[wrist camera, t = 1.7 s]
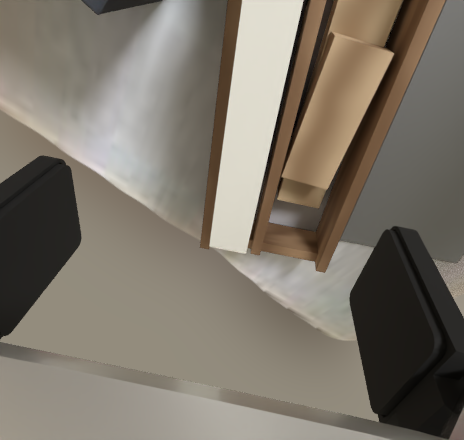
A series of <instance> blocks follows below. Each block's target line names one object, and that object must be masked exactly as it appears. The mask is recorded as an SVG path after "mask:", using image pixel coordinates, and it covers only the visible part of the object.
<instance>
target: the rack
mask: <svg viewBox="0 0 464 440" xmlns="http://www.w3.org/2000/svg"><path fill="white" fill-rule="evenodd" d="M444 3H445V0H404V1H403V3H402V6H401V9H400V11H399V14H398V17H397V19H396V22H395V24H394V27H393V30H392V32H391V35H390V38H389V40H388V43H387V46H386V48H387V49H389V50H390V51H392V52H393V53H394V55H393V57H392V59H391V61H390V63H389V65H388V67H387V70H386V72H385V74H384V76H383V78H382V80H381V82H380V84H379V86H378V88H377V90H376V92H375V94H374V96H373V98H372V100H371V102H370V104H369V106H368V108H367V110H366V112H365V114H364V116H363V118H362V120H361V122H360V124H359V126H358V128H357V130H356V132H355V134H354V136H353V139H352V141H351V143H350V145H349V147H348V149H347V151H346V154H345V156H344V159H343V162H342V164H341V167H340V170H339V172H338V175H337V178H336V180H335V183H334V185H333V188H332V191H331V193H330V196H329V199H328V201H327V204H326V207H325V209H324V212H323V214H322V217H321V220H320V222H319V225H318V228H317V230H316V232H314V231H308V230H303V229H298V228H293V227H288V226H283V225H278V224H273V223H268V222H269V218H270V214H271V210H272V206H273V203H274V199H275V195H276V191H277V187H278V183H279V180H280V176H281V172H282V168H283V164H284V161H285V157H286V153H287V149H288V145H289V141H290V138H291V134H292V130H293V126H294V122H295V119H296V115H297V111H298V107H299V103H300V99H301V96H302V92H303V88H304V84H305V80H306V77H307V73H308V69H309V65H310V61H311V57H312V54H313V50H314V46H315V42H316V38H317V35H318V31H319V27H320V23H321V19H322V15H323V12H324V8H325V4H326V0H307V1H306V5H305V10H304V14H303V18H302V23H301V27H300V31H299V36H298V40H297V44H296V48H295V53H294V57H293V61H292V66H291V70H290V74H289V79H288V83H287V87H286V92H285V96H284V100H283V105H282V109H281V113H280V117H279V122H278V126H277V130H276V135H275V139H274V143H273V148H272V152H271V156H270V161H269V165H268V169H267V174H266V178H265V182H264V186H263V191H262V195H261V199H260V204H259V208H258V212H257V217H256V220H254V221H253V225H252V230H251V234H250V238H249V243H248V247H247V248H250V249H251V254H255V255H260V252H261V251H265V252H270V253H275V254H280V255H285V256H290V257H295V258H300V259H305V260H310V261H315V266H316V271H319V272H324V273H325V272H326V269H327V267H328V265H329V262H330V260H331V258H332V256H333V253H334V251H335V249H336V247H337V244H338V242H339V240H340V238H341V235H342V233H343V231H344V229H345V226H346V224H347V222H348V220H349V217H350V215H351V213H352V211H353V208H354V206H355V204H356V201H357V199H358V197H359V195H360V192H361V190H362V188H363V186H364V183H365V181H366V179H367V177H368V174H369V172H370V170H371V168H372V165H373V163H374V161H375V159H376V156H377V154H378V152H379V149H380V147H381V145H382V143H383V140H384V138H385V136H386V134H387V131H388V129H389V127H390V125H391V122H392V120H393V118H394V116H395V113H396V111H397V109H398V107H399V104H400V102H401V100H402V98H403V95H404V93H405V91H406V88H407V86H408V84H409V82H410V79H411V77H412V75H413V73H414V70H415V68H416V66H417V64H418V61H419V59H420V57H421V55H422V52H423V50H424V48H425V46H426V43H427V41H428V39H429V36H430V34H431V32H432V30H433V27H434V25H435V23H436V21H437V18H438V16H439V14H440V12H441V9H442V7H443V5H444ZM241 6H242V0H228V3H227V12H226V21H225V30H224V39H223V48H222V57H221V66H220V75H219V83H218V92H217V101H216V110H215V119H214V128H213V137H212V146H211V155H210V164H209V173H208V181H207V190H206V199H205V208H204V217H203V226H202V235H201V244H200V247H201V248H205V249H209V245H210V237H211V230H212V222H213V215H214V207H215V200H216V192H217V185H218V178H219V170H220V163H221V155H222V148H223V140H224V133H225V125H226V118H227V110H228V103H229V96H230V88H231V81H232V73H233V66H234V58H235V51H236V43H237V36H238V28H239V21H240V14H241Z"/></svg>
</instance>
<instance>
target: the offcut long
mask: <svg viewBox="0 0 464 440" xmlns="http://www.w3.org/2000/svg"><path fill="white" fill-rule="evenodd" d="M402 1H403V0H334V2H333V5H332V8H331V12H330V15H329V19H328V22H327V25H326V29H325V32H324V35H323V39H322V42H321V45H320V49H319V52H318V55H317V59H316V62H315V65H314V69H313V72H312V76H311V79H310V82H309V86H308V89H307V92H306V96H305V99H304V102H303V106H304V104H305V101H306V98H307V96H308V93H309V90H310V88H311V85H312V82H313V80H314V77H315V74H316V71H317V69H318V66H319V63H320V61H321V58H322V55H323V53H324V50H325V47H326V45H327V42H328V39H329V37H330V34H331V31H332V32H335V33H338V34H342V35H345V36H348V37H352V38H355V39H358V40H362V41H365V42H368V43H372V44H375V45H379V46H382V47H384V46H385V43H386V41H387V38H388V36H389V33H390V31H391V28H392V26H393V23H394V21H395V18H396V16H397V13H398V11H399V9H400V6H401V4H402ZM303 106H302V109H303ZM302 109H301V112H302ZM301 112H300V114H301ZM299 117H300V116H299ZM298 120H299V119H298ZM297 123H298V122H297ZM325 192H326V189H323V188H319V187H316V186H312V185H309V184H305V183H301V182H298V181H294V180H291V179H287V178H283V177H281V179H280V183H279V186H278V197H277V200H282V201H286V202H291V203H295V204H300V205H304V206H309V207H314V208H318V209H319V207H320V204H321V202H322V199H323V197H324V194H325Z"/></svg>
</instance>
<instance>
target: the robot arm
mask: <svg viewBox="0 0 464 440" xmlns="http://www.w3.org/2000/svg"><path fill="white" fill-rule="evenodd" d="M80 242H81V231H80V224H79V217H78V211H77V204H76V198H75V192H74V185H73V179H72V173H71V168H70V167H69V166H67V165H66V163H65V162H64V160H62V159H58V158H53V157H48V156H39V157H37V158H36V159H35V160H33V161H32V162H30V163H29V164H28V165H26V166H25V167H23V168H22V169H20V170H19V171H18V172H16V173H15V174H13V175H12V176H10V177H9V178H8V179H6V180H5V181H3V182H2V183H1V184H0V339H1V337H3V336H6V335H9V334H10V333H11V332H12V331H13V329H14V328H15V327H16V326H17V325H18V323H19V322H20V321H21V319H22V318H23V317H24V316H25V314H26V313H27V312H28V310H29V309H30V308H31V307H32V305H33V304H34V303H35V302H36V300H37V299H38V298H39V297H40V295H41V294H42V293H43V291H44V290H45V289H46V288H47V286H48V285H49V284H50V283H51V281H52V280H53V279H54V277H55V276H56V275H57V274H58V272H59V271H60V270H61V268H62V267H63V266H64V265H65V263H66V262H67V261H68V260H69V258H70V257H71V256H72V254H73V253H74V252H75V250H76V249H77V248H78V246H79V245H80ZM350 306H351V311H352V316H353V321H354V326H355V331H356V336H357V341H358V345H359V351H360V355H361V360H362V365H363V370H364V375H365V380H366V385H367V390H368V395H369V400H370V405H371V408H372V410H373V412H374V413H376V414H378V418H379V422H376V421H371V420H367V419H363V418H358V417H354V416H350V415H345V414H341V413H336V412H332V411H327V410H322V409H318V408H312V407H308V406H304V405H299V404H294V403H290V402H285V401H280V400H276V399H271V398H266V397H261V396H257V395H252V394H248V393H243V392H238V391H233V390H229V389H224V388H219V387H214V386H210V385H205V384H200V383H196V382H191V381H186V380H181V379H176V378H171V377H167V376H162V375H157V374H152V373H148V372H143V371H138V370H133V369H128V368H124V367H118V366H114V365H109V364H105V363H99V362H95V361H90V360H85V359H80V358H75V357H70V356H65V355H61V354H56V353H51V352H46V351H40V350H36V349H31V348H26V347H21V346H16V345H12V344H7V343H2V342H0V440H464V318H463V316H462V314H461V312H460V310H459V308H458V306H457V305H456V303H455V301H454V299H453V297H452V295H451V293H450V292H449V290H448V288H447V286H446V284H445V282H444V280H443V278H442V277H441V275H440V273H439V271H438V269H437V267H436V265H435V263H434V262H433V260H432V258H431V256H430V254H429V252H428V250H427V249H426V247H425V245H424V243H423V241H422V239H421V237H420V235H419V234H418V232H417V231H416V230H414V229H409V228H404V227H399V226H393V227H392V228H391V229H390V230H388V229H386V230H385V231H384V232H383V233H382V235H381V237H380V239H379V241H378V243H377V244H376V246H375V248H374V250H373V252H372V254H371V255H370V257H369V259H368V261H367V263H366V265H365V266H364V268H363V270H362V272H361V274H360V276H359V278H358V279H357V281H356V283H355V285H354V287H353V289H352V291H351V293H350Z"/></svg>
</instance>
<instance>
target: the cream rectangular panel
mask: <svg viewBox="0 0 464 440" xmlns="http://www.w3.org/2000/svg"><path fill="white" fill-rule="evenodd" d="M303 1H304V0H242V6H241V14H240V21H239V28H238V36H237V43H236V51H235V58H234V66H233V73H232V81H231V88H230V96H229V103H228V110H227V118H226V125H225V133H224V140H223V148H222V155H221V163H220V170H219V178H218V185H217V192H216V200H215V207H214V215H213V222H212V230H211V237H210V245H209V247H214V248H219V249H224V250H229V251H234V252H239V253H244V254H246V252H247V247H248V243H249V238H250V234H251V230H252V225H253V221H254V216H255V212H256V208H257V203H258V199H259V194H260V190H261V186H262V181H263V177H264V172H265V168H266V164H267V159H268V155H269V150H270V146H271V142H272V137H273V133H274V128H275V124H276V120H277V115H278V111H279V106H280V102H281V98H282V93H283V89H284V84H285V80H286V76H287V71H288V67H289V62H290V58H291V54H292V49H293V45H294V40H295V36H296V32H297V27H298V23H299V18H300V14H301V10H302V5H303Z"/></svg>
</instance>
